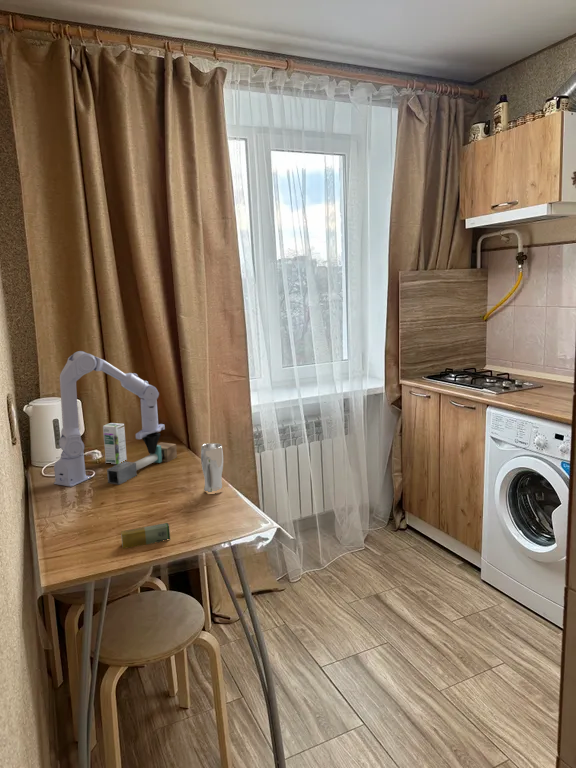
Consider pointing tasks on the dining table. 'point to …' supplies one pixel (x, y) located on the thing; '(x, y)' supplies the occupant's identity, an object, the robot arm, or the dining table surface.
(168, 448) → the socket block
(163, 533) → the medication box
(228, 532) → the dining table surface
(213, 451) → the beer glass
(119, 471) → the sleeve
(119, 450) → the syrup box
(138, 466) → the slip tube
